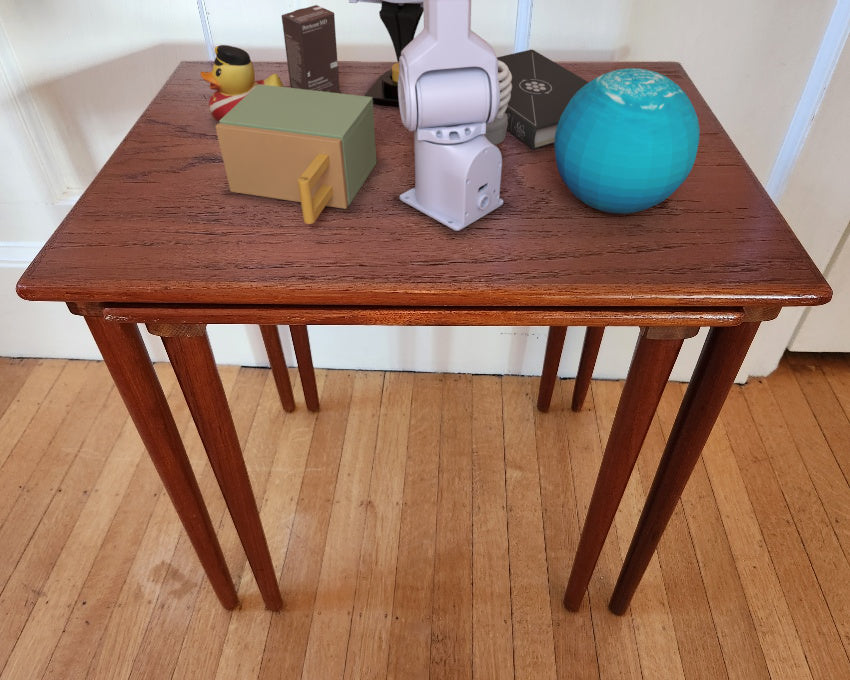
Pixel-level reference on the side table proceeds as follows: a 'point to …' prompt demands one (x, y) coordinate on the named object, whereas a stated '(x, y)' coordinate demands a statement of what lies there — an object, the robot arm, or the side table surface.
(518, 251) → the side table surface
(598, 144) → the decorative orb
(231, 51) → the toy
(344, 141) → the cupboard
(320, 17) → the box
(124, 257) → the side table surface
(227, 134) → the cupboard door
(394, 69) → the button
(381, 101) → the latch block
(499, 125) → the light bulb
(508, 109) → the book
